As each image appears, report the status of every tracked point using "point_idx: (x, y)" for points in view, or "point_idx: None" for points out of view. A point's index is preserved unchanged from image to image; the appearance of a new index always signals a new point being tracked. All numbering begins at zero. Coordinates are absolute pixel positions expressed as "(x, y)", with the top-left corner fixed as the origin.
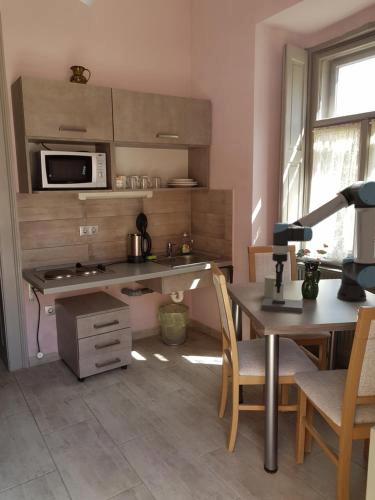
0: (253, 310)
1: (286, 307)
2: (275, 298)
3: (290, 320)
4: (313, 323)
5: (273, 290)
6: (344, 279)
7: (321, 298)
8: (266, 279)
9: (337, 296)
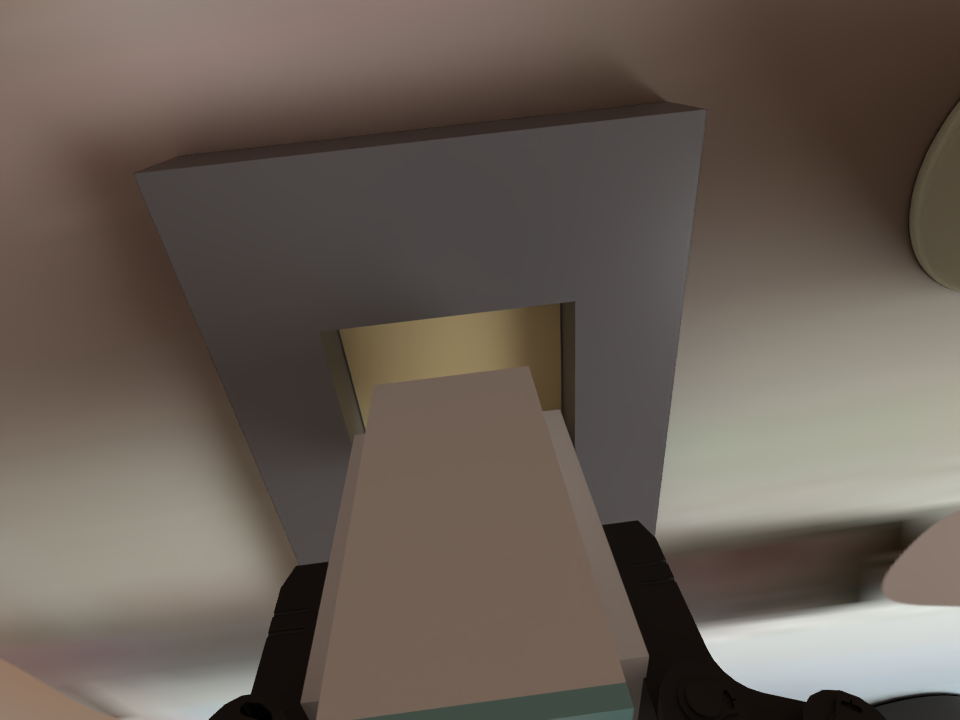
0: (30, 3)
1: (286, 521)
2: (355, 438)
3: (17, 559)
4: (98, 689)
5: (351, 522)
6: None
7: (888, 630)
8: None
9: (908, 710)
